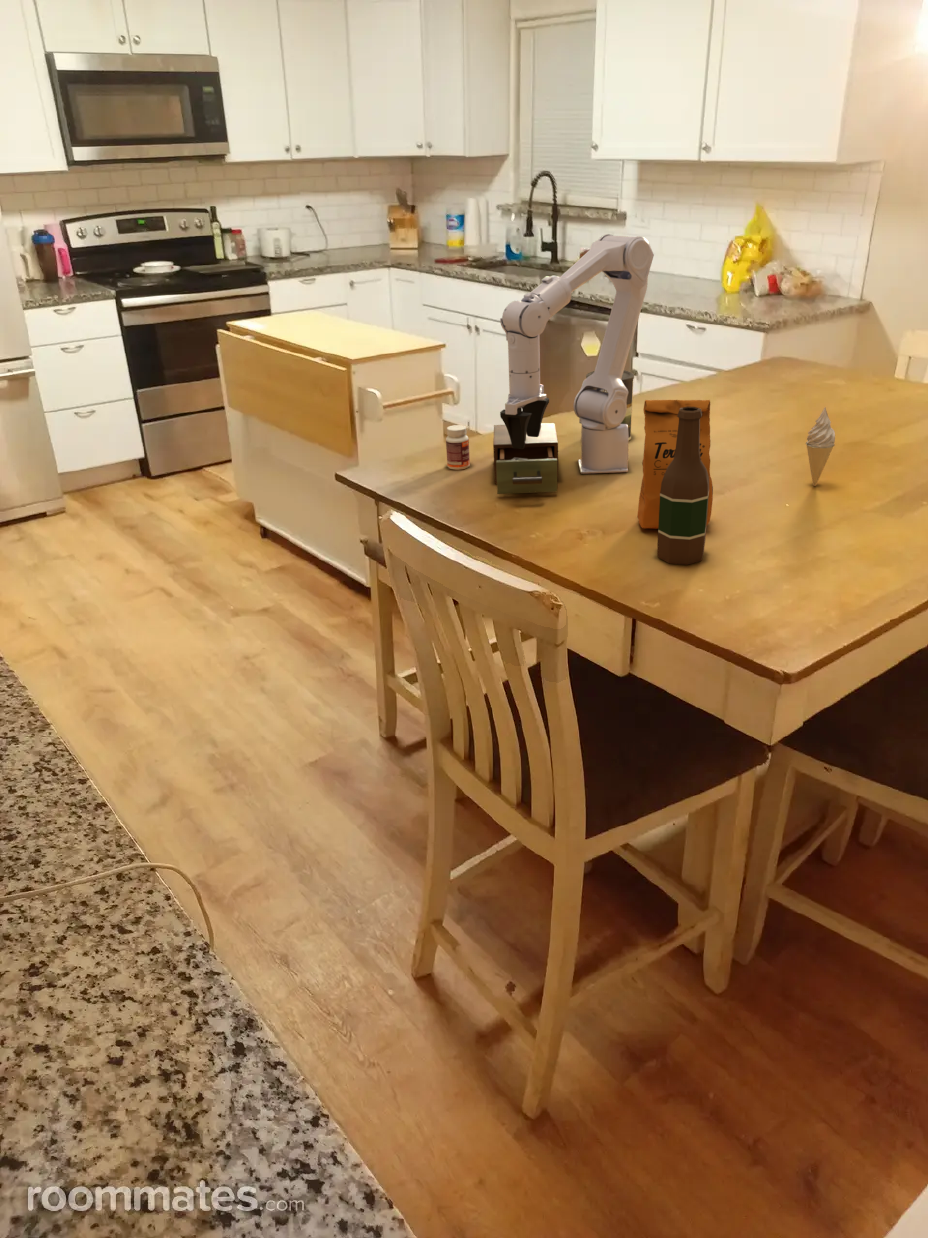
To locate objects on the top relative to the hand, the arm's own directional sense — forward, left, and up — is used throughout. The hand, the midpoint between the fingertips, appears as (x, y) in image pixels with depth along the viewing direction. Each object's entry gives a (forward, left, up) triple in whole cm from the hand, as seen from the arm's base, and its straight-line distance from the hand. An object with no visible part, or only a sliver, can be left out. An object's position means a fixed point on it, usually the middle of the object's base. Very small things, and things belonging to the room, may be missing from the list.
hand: (525, 442), depth 174 cm
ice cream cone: (-54, +4, -10) cm, 55 cm away
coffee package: (-25, +21, -10) cm, 34 cm away
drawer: (0, +1, -9) cm, 9 cm away
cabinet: (0, -10, -10) cm, 14 cm away
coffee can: (-19, -31, -10) cm, 38 cm away
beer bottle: (-24, +34, -10) cm, 42 cm away
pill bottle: (+14, -15, -10) cm, 23 cm away
